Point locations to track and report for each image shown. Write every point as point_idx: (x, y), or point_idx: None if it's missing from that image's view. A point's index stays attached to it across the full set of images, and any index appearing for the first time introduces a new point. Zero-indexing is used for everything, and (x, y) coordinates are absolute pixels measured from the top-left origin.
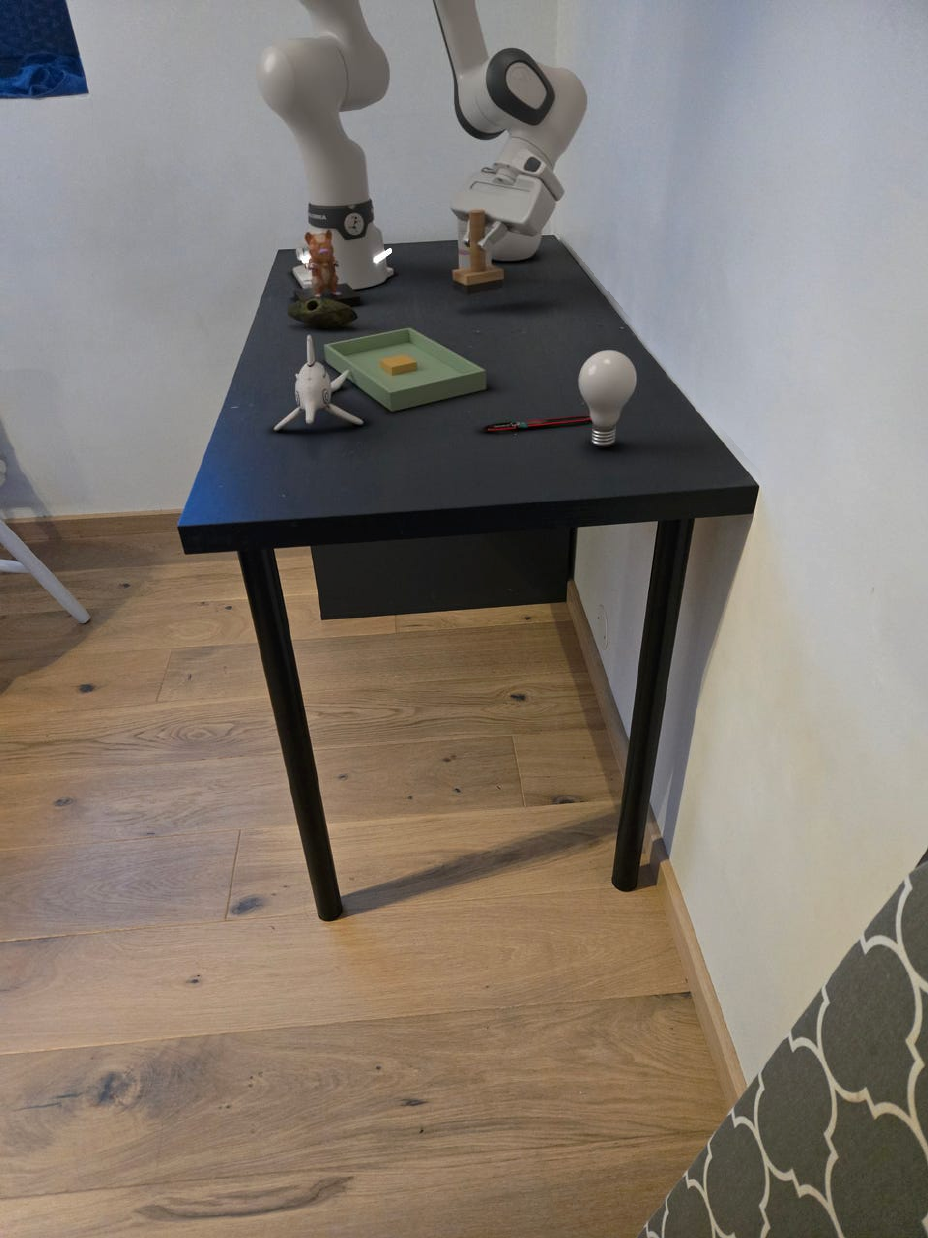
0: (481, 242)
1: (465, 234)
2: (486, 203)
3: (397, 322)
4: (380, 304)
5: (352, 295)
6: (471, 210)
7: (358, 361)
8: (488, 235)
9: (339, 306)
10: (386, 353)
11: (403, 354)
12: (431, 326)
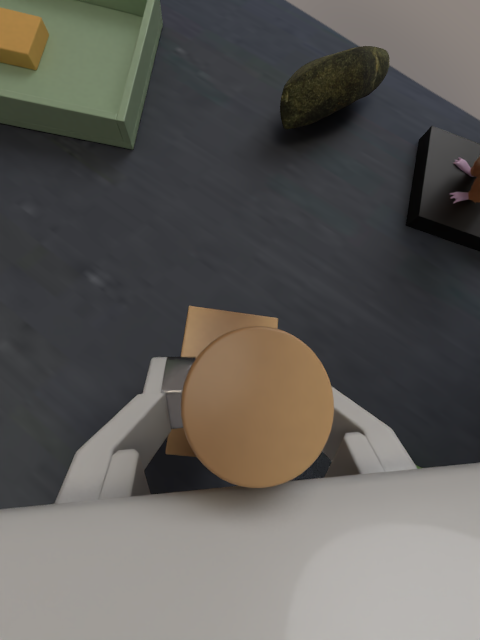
0: (170, 364)
1: None
2: (351, 629)
3: (264, 208)
4: (388, 253)
5: (432, 210)
6: (309, 375)
7: (105, 33)
8: (139, 398)
9: (297, 73)
10: (102, 79)
11: (26, 51)
12: (195, 236)
